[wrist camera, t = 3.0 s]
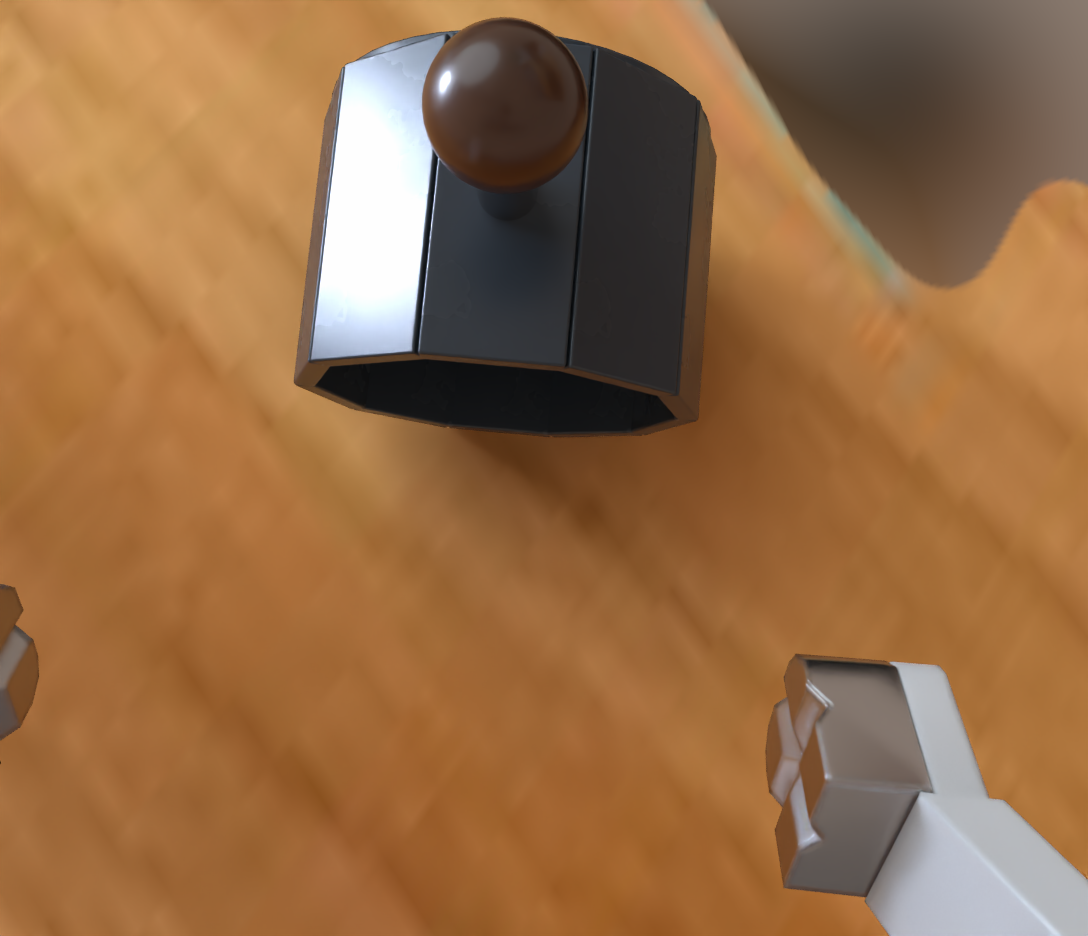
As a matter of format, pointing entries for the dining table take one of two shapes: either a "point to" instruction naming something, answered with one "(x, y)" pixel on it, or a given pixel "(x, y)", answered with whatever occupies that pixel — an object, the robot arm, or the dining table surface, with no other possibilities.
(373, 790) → the dining table surface
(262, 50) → the dining table surface
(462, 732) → the dining table surface
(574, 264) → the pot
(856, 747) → the robot arm
